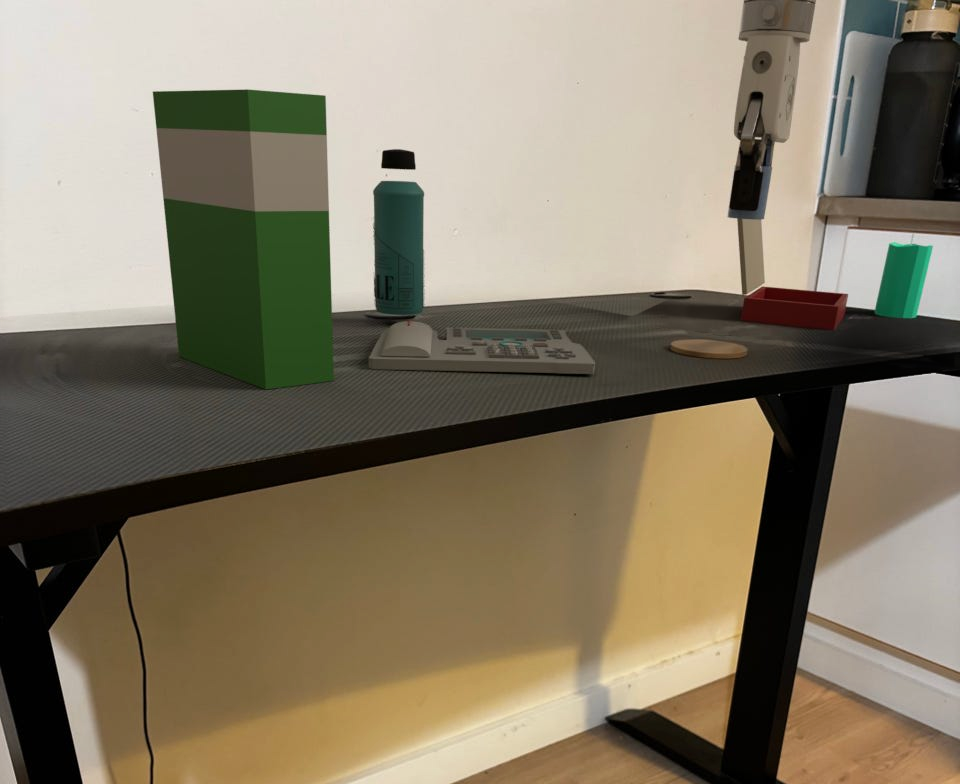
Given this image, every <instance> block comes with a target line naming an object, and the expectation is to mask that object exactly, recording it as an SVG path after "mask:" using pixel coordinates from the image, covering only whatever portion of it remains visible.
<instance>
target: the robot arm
mask: <svg viewBox="0 0 960 784" xmlns="http://www.w3.org/2000/svg"><path fill="white" fill-rule="evenodd" d="M816 4H817V0H743V3H742V10H741V17H740V24H739V31H738V37H737V38H738V40H739V41H742V42H746V46H745V51H744V56H743V62H742V67H741V73H740V79H739V87H738V92H737V99H736V105H735V113H734V124H733V135H734V136H735V138H736V139H737V140H738V141H739V144H738V145H739V146H738V151H737V156H736V161H735V165H736V168H735V167H734V168H735V169H736V171H733V175H734V177H733V176H732V182H733V184H732V183H731V189H732V191H731V190H730V196H731V198H730V197H729V202H730V204H728V209H729V208H730V209H731V210H744V211H756V210H757V209H758V206H759V199H760V193H761V187H762V181H763V174H764V172H761V169H762V166H767V167H773V166H772V165H773V158H774V150H775V143H780V144H784V143H786V142H787V141H788V140H789V139H790V134H791V128H792V121H793V113H794V112H793V111H794V104H795V96H796V91H797V83H798V75H799V66H800V55H801V44H802V43H803V44H804V43H808V42H810V39H811V32H812V29H813V28H812V26H813V20H814V16H815V10H816Z"/></svg>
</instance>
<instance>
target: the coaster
mask: <svg viewBox="0 0 960 784" xmlns="http://www.w3.org/2000/svg"><path fill="white" fill-rule="evenodd" d="M670 350H671V351H672V352H673V353H676V354H680V355H684V356H689V357H694V358H704V359H719V360H720V359H721V360H729V359H740V358H745V357H746V356H747V355H748V351H749V350H748V348H747V347H746V346H744V345H741V344H739V343H734V342H729V341H722V340H713V339H701V338H700V339H696V338H695V339H693V338H692V339H679V340H678V339H677V340H674V341H672V342H671V343H670Z"/></svg>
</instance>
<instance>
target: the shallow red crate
mask: <svg viewBox="0 0 960 784" xmlns="http://www.w3.org/2000/svg"><path fill="white" fill-rule="evenodd" d="M848 298H849V294H848V293H844V292H843V293H842V292H832V291H831V292H830V291H819V290H809V289H796V288H787V287H785V288H783V287H772V286H762V285H761V286H760V287H758V288H757V289H755V290H753V291H752V292H750V294H747V296H745V297H744V298H743V304H742V310H741V316H740V322H747V323H756V324H757V323H758V324H759V323H760V324H766V325H775V326H786V327H796V328H806V329H816V330H827V331H835V330H836V328H837V327H838V325H839V324H840V322H841V321H842V320H843V318H844V315H845V313H846V307H847V303H848Z"/></svg>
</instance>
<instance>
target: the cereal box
mask: <svg viewBox="0 0 960 784" xmlns="http://www.w3.org/2000/svg"><path fill="white" fill-rule="evenodd" d="M326 96H327V95H325V94H324V95H323V94H311V93H298V92H288V91H287V92H286V91H285V92H284V91H273V90H259V89H247V88H246V89H207V90H206V89H205V90H204V89H203V90H160V91H155V90H154V91H153V90H152V98H153V99H152V101H153V108H154V119H155V128H156V138H157V148H158V160H159V169H160V170H159V171H160V179H161V180H160V181H161V189H162V198H163V199H162V200H163V209H164V218H165V219H164V220H165V229H166V239H167V249H168V260H169V269H170V279H171V289H172V298H173V310H174V318H175V329H176V339H177V347H178V348H177V349H178V357H179V358H182V359H185V360H187V361H190V362H192V363H195V364H198V365H200V366H203V367H205V368H208V369H210V370H212V371H213V370H214V371H216V372H219V373H222V374H224V375H227V376H228V377H229V376H230V377H232V378H235V379H237V380H240V381H242V382H244V383H247V384H250V385H252V386H256V387H259V388H261V389H264V390H273V389H280V388H287V387H296V386H303V385H311V384H320V383H326V382H334V381H335V376H334V375H335V374H334V373H335V371H334V340H333V339H334V337H333V305H332V301H333V300H332V271H331V237H330V236H331V235H330V234H331V233H330V231H331V230H330V206H329V205H330V199H329V196H330V195H329V169H328V168H329V167H328V132H327V100H326V99H327V98H326Z"/></svg>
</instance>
